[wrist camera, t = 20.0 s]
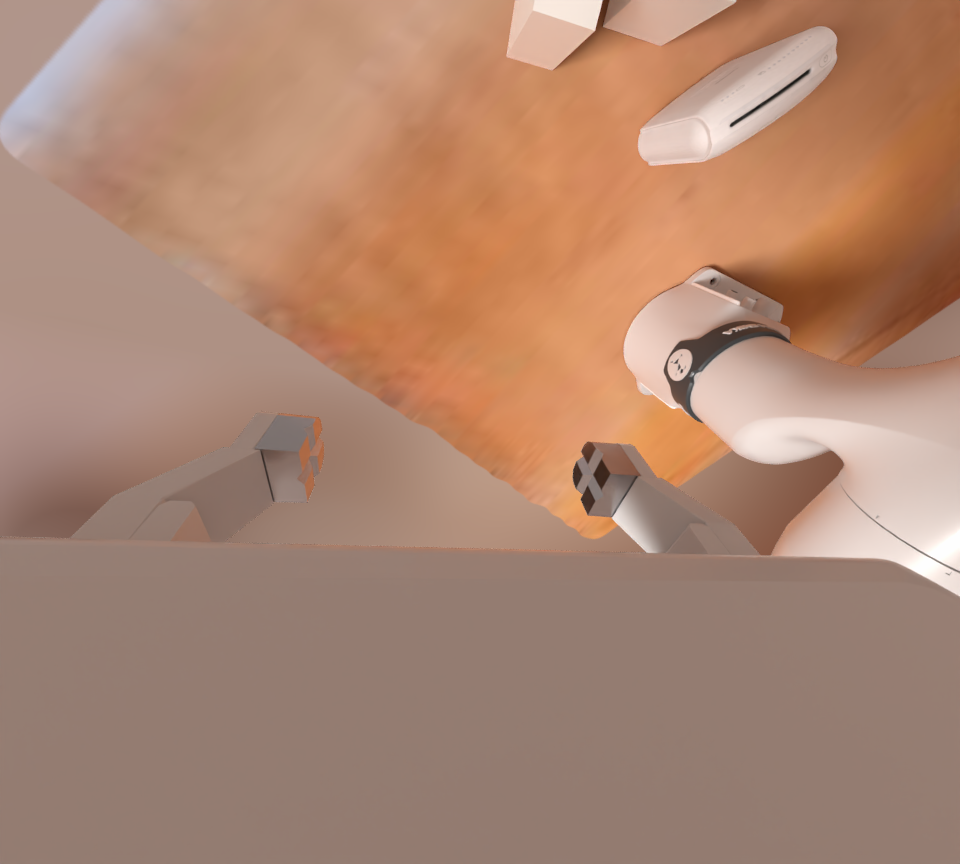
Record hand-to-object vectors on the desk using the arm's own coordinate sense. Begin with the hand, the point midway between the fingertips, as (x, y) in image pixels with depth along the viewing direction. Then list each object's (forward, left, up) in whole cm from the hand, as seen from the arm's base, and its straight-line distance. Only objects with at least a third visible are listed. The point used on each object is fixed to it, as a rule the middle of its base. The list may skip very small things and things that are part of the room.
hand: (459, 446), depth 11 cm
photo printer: (-23, -16, -37) cm, 47 cm away
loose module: (-6, -19, -37) cm, 42 cm away
